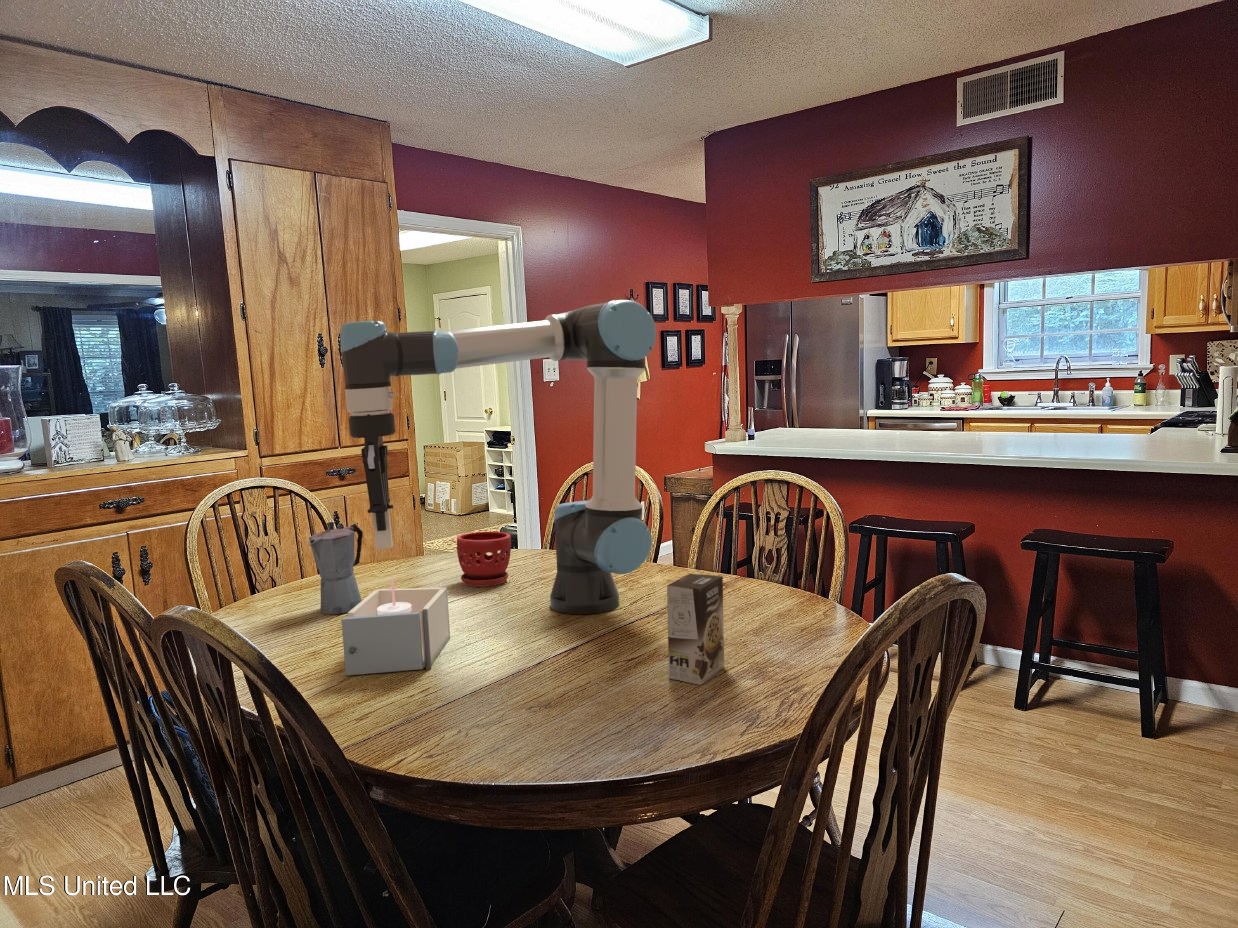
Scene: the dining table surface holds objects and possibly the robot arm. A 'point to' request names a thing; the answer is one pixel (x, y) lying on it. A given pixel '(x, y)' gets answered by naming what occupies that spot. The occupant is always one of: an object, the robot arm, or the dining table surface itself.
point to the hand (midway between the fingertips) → (384, 547)
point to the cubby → (422, 600)
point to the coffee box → (695, 628)
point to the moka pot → (337, 567)
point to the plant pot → (484, 557)
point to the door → (382, 643)
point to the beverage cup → (394, 605)
